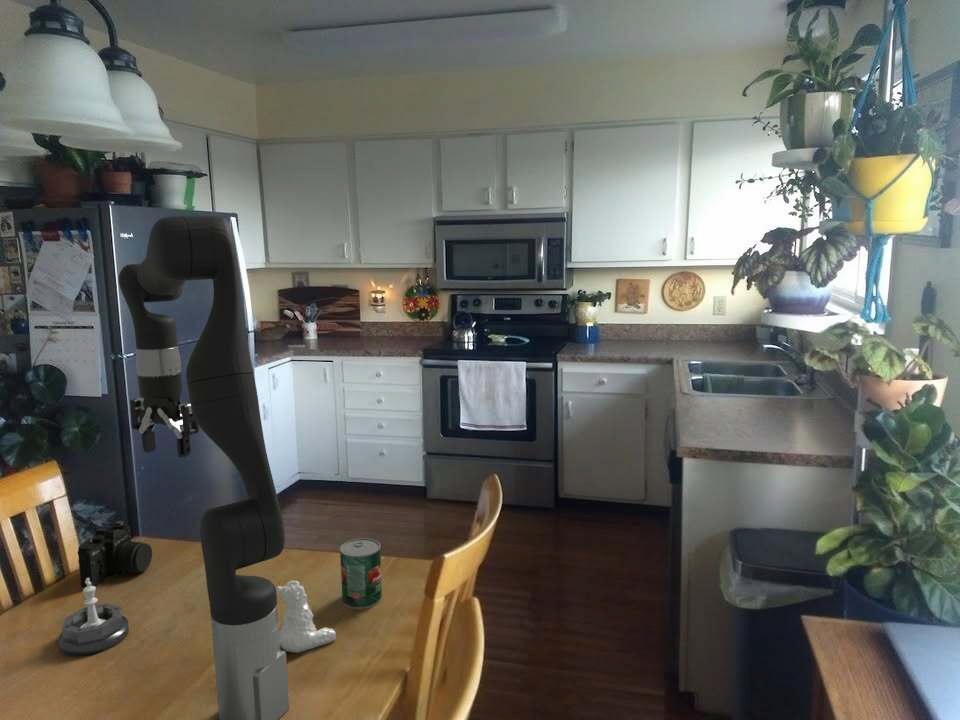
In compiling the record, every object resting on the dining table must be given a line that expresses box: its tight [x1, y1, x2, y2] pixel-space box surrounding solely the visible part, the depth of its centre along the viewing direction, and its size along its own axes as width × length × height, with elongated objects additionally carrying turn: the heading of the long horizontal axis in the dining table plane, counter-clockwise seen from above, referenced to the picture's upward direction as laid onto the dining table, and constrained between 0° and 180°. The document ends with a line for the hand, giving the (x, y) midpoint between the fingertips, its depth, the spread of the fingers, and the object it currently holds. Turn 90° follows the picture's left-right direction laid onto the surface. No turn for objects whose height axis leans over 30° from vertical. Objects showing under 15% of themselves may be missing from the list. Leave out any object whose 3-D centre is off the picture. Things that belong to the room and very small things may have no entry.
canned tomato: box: [339, 537, 383, 610], centre depth 134 cm, size 8×8×11 cm
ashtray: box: [57, 603, 130, 657], centre depth 122 cm, size 11×11×4 cm
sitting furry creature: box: [276, 579, 337, 654], centre depth 119 cm, size 10×9×12 cm
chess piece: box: [80, 578, 107, 629], centre depth 121 cm, size 5×5×10 cm
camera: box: [77, 520, 153, 589], centre depth 145 cm, size 14×11×10 cm
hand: (167, 453), depth 130 cm, fingers open, 8 cm apart
